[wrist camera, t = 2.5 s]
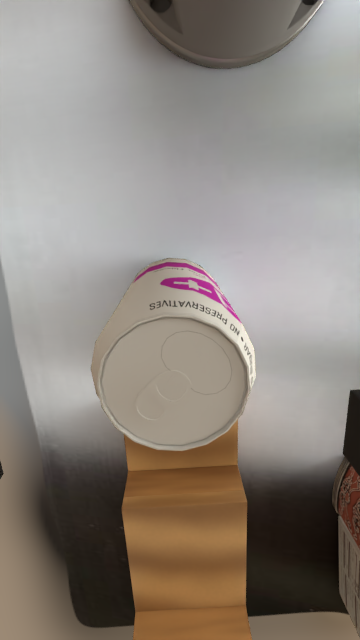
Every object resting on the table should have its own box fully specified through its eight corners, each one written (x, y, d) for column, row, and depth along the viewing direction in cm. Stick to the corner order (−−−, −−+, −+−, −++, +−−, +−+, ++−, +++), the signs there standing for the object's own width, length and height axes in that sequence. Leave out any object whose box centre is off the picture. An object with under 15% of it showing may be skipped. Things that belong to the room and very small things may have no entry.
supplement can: (170, 236, 27) (168, 259, 13) (238, 301, 29) (300, 384, 15) (108, 304, 29) (46, 391, 15) (176, 362, 31) (178, 488, 17)
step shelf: (127, 395, 32) (102, 495, 20) (230, 389, 32) (261, 486, 21) (147, 566, 39) (136, 711, 27) (231, 561, 39) (255, 704, 27)
